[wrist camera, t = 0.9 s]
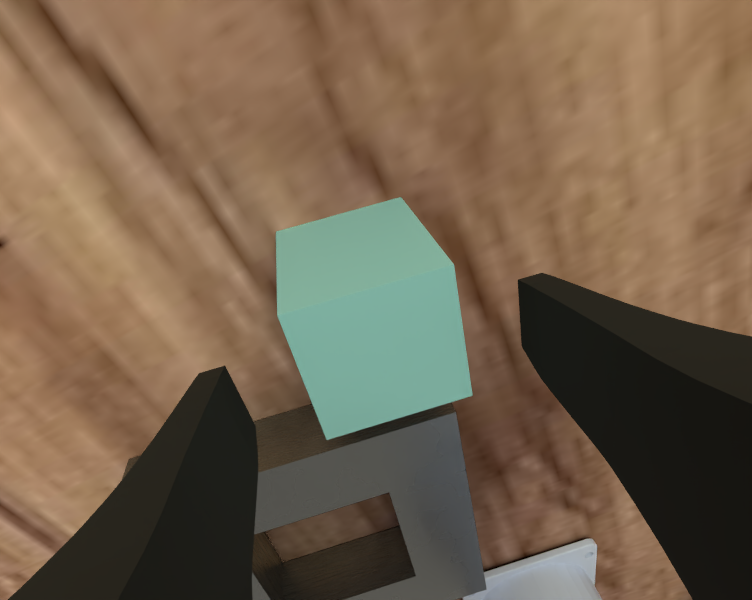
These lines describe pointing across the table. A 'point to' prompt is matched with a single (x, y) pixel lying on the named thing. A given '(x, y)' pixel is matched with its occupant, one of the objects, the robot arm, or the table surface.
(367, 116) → the table surface
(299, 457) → the grey square-hole plate
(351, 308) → the teal block
